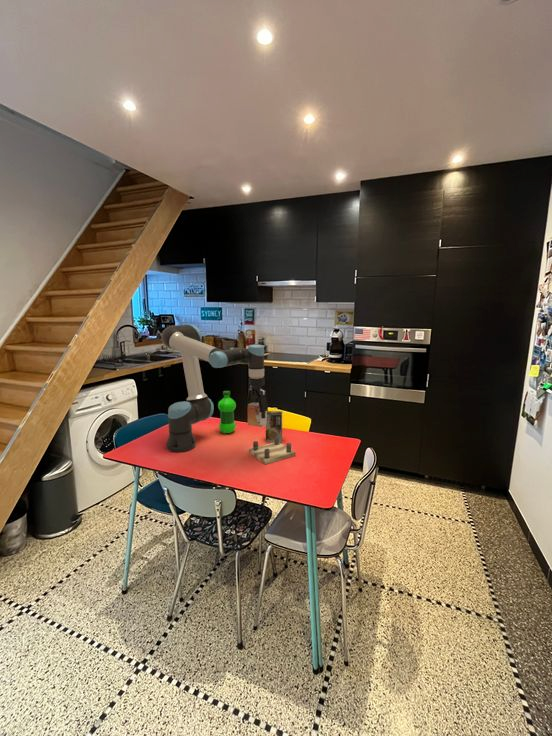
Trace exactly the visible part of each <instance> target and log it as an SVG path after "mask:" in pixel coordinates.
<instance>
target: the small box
mask: <svg viewBox="0 0 552 736" xmlns="http://www.w3.org/2000/svg"><path fill="white" fill-rule="evenodd" d="M259 411H260V407H259V403H258V402H255V403H254V402H252V403H250V404H247V426H252V427H253V426H254V427H259V428H263V427H265V426H266V424H267V411H265V424H263V425H260V416H259Z"/></svg>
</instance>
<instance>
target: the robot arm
mask: <svg viewBox="0 0 552 736" xmlns="http://www.w3.org/2000/svg"><path fill="white" fill-rule="evenodd" d="M160 338H161V342H162V343H163V345H164V346H165V347H167V348H169V349H171V350H174V351H177V352H179V353H180V355H181V359H182V365H183V371H184V377H185V382H186V389H187V394H188V397H186V399H185V400H186V401H185V400H184V401H177V402H174V403H173V404H171V405H170V406H169V407H168V410H167V412H168V413H167V417H168V418H167V419H168V437H167V441H166V444H165V445H166V450H167V449H168V450H167V451H169V450H170V451H169V452H171V451H174V452H173V453H184V452H188V451H191V450H194V448H196V444H197V443H196V439H195V436H194V433H193V428H192V425H194V424H197V423H199V422H202V421H205V420H208V419H209V418H211V417H212V416H213V414H214V409H215V408H214V407H215V406H214V402H213V401H212V399H210V398H209V397H208V395H207V394H206V393H205V391H204V384H203V379H202V373H201V367H200V362H199V359H200V360H203V361H205V362H208V364H209V365H211V367H212V368H214V369H218V368H219V369H221V368H224V367H229V366H234V365H235V366H236V365H239V364H243V365H248V377H249V378H248V386H247V387H248V390H247V391H248V392H247V398H246V399H247V400H246V401H247V402H246V403H247V405H248V404H250V403H252V402H254V403H256V399H257V403H259V407H260V411H259V416H260V425H263V424H265V411H269V408H268V400H267V390H264V388H263V386H265V383H266V382H265V347H264V345H262V344H250V345H248V348H243V347H242V348H241V347H230V348H229V349H225V350H224V349H221V348H218V347H216V346H212V345H210V344H207V343H204V342H202V339H203V334H202V332H201V330H200V329H199V327H197V326H196V325H194V324H178V325H175V324H174V325H169V326H167V327H166V328H164V330H162V332H161V337H160Z"/></svg>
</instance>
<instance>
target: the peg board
mask: <svg viewBox="0 0 552 736" xmlns="http://www.w3.org/2000/svg"><path fill="white" fill-rule="evenodd" d="M248 453H250V455H252V456H253V457H255V458H256V459H257V460H258V461H260V462H261V463H262V464H264V465H269V464H273V463H276V462H279V461H282V460H286V459H289V458H292V457H296V455H297V454H296V451H295V450H293V449H292V443H290V442H287V443H286V444H283V443H282V442H279V436H275V442H269V443H267V444H263V445H259V442H258V441H256V440H254V441H253V442H252V447H251V448H248Z"/></svg>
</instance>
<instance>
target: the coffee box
mask: <svg viewBox="0 0 552 736" xmlns="http://www.w3.org/2000/svg"><path fill="white" fill-rule="evenodd" d="M275 436H279V442H280V443H282V442H283V411H277V410H275V411H274V410H270V411H269V410H268V411H267V424H266V425H265V443H274V442H275Z"/></svg>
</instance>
